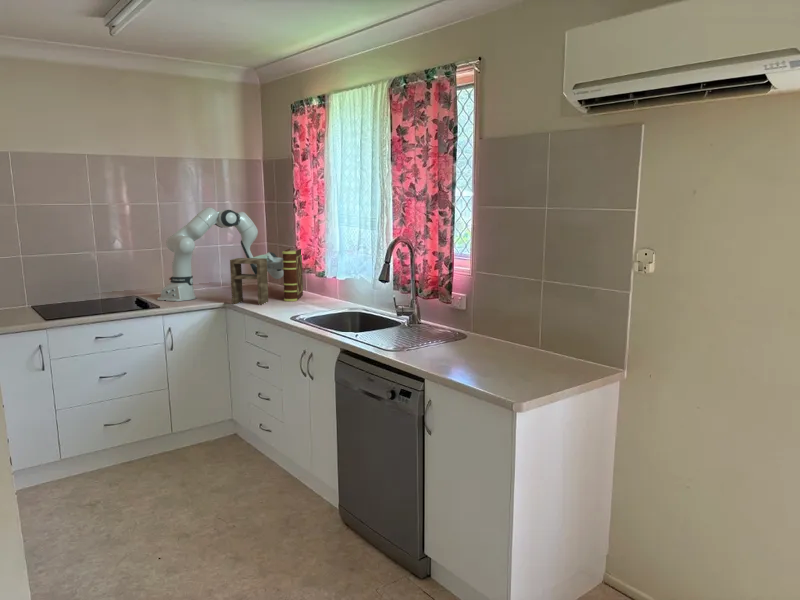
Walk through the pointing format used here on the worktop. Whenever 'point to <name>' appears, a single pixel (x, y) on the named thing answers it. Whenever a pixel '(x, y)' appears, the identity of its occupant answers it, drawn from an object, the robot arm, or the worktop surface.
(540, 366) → the worktop surface
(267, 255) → the pale green bar
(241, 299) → the walnut shelf
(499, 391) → the worktop surface
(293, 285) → the decorative book
